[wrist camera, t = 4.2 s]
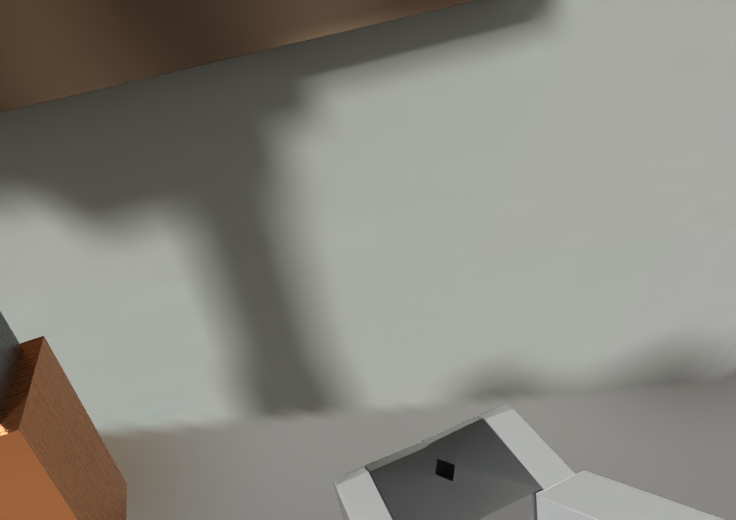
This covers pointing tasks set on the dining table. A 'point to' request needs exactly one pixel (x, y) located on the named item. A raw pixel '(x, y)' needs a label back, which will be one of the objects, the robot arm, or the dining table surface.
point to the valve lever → (50, 442)
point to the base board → (159, 37)
